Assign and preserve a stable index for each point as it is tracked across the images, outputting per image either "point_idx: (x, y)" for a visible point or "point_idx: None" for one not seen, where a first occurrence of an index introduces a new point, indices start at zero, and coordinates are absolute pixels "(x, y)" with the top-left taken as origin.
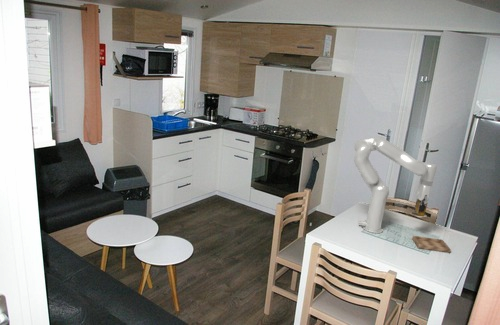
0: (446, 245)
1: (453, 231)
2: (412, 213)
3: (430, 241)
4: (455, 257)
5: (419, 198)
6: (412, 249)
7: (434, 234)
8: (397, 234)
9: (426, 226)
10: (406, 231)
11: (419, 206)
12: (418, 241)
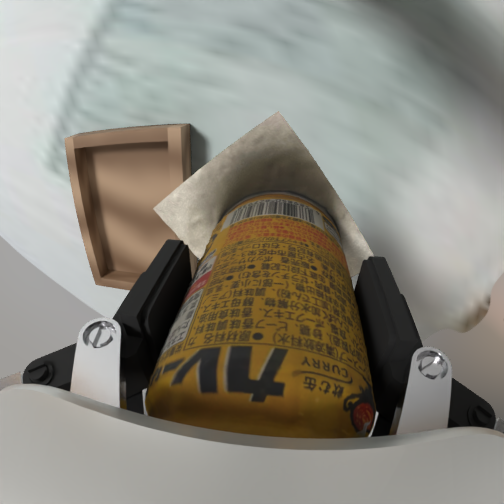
0: (125, 285)
1: None
2: (276, 158)
3: None
4: (79, 277)
5: (28, 437)
6: (61, 100)
7: None
8: (244, 40)
9: (418, 298)
10: (326, 129)
11: (149, 289)
12: (101, 143)
